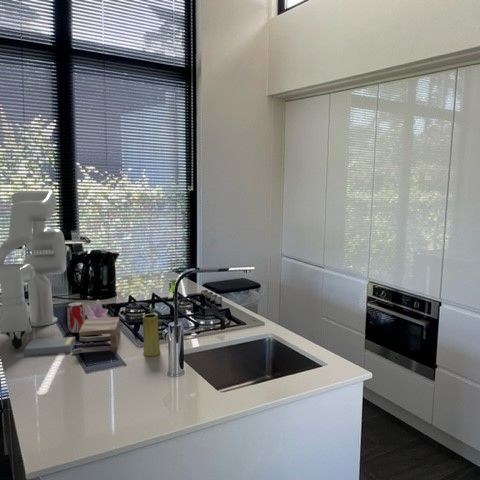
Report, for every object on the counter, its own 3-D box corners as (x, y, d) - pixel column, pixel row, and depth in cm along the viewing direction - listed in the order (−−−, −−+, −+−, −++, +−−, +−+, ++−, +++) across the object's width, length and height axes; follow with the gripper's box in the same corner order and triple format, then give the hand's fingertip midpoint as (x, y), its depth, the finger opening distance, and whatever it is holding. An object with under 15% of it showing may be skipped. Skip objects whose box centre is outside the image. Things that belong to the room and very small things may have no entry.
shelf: (80, 340, 182) (78, 319, 181) (120, 337, 184) (119, 316, 183) (72, 354, 166) (70, 332, 165) (116, 351, 169) (115, 329, 168)
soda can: (80, 334, 189) (78, 306, 187) (65, 333, 190) (63, 305, 189) (89, 328, 196) (87, 301, 194) (74, 328, 197) (72, 301, 196)
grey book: (32, 346, 176) (32, 339, 176) (75, 342, 179) (75, 336, 178) (24, 355, 166) (24, 348, 166) (70, 352, 169) (70, 345, 168)
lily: (83, 331, 196) (91, 313, 194) (77, 315, 205) (85, 297, 202) (109, 333, 204) (117, 316, 201) (102, 317, 212) (110, 301, 210)
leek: (164, 305, 239) (167, 287, 268) (177, 306, 240) (179, 288, 269) (165, 294, 238) (168, 277, 267) (179, 295, 239) (180, 278, 268)
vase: (163, 351, 168) (161, 314, 166) (155, 357, 162) (153, 318, 160) (148, 349, 170) (147, 312, 168) (140, 355, 164) (138, 317, 162)
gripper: (-12, 304, 163) (-8, 353, 165) (32, 302, 165) (35, 350, 168) (-5, 299, 170) (-1, 346, 173) (37, 297, 173) (41, 343, 175)
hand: (17, 348), depth 170 cm, fingers closed
